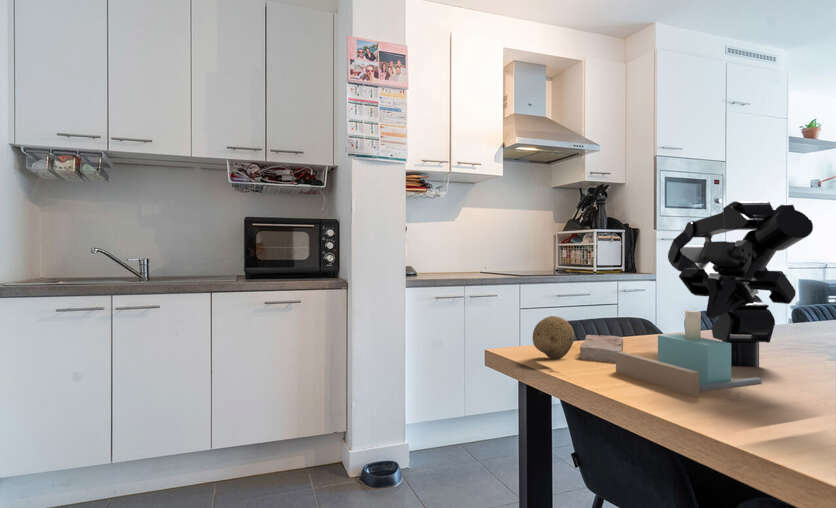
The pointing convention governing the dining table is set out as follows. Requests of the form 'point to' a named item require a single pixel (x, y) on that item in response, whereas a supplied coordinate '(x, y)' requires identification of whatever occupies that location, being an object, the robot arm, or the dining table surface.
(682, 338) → the dowel block
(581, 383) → the dining table surface
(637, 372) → the track
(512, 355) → the dining table surface
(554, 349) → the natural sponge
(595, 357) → the brick
